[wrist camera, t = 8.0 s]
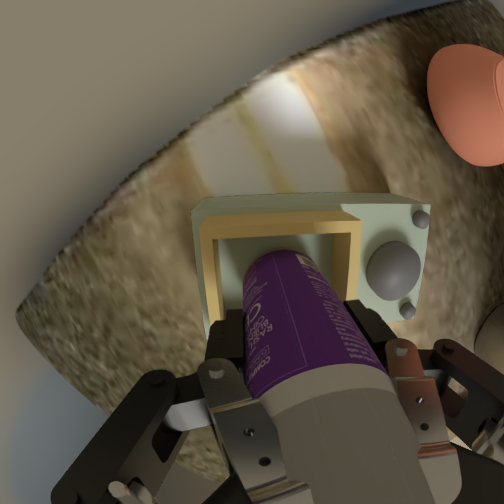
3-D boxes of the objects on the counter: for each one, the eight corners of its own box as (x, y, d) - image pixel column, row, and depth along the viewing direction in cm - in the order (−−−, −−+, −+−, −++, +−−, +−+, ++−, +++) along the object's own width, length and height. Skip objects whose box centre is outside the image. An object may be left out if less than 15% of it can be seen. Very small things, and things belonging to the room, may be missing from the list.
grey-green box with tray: (391, 193, 22) (456, 212, 14) (382, 287, 25) (432, 338, 17) (203, 198, 22) (179, 221, 13) (213, 300, 25) (202, 367, 16)
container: (237, 251, 16) (232, 570, 2) (318, 241, 16) (501, 481, 2) (247, 321, 18) (260, 579, 3) (320, 312, 18) (418, 540, 3)
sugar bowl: (391, 70, 19) (462, 37, 9) (465, 39, 17) (524, 20, 7) (448, 184, 22) (525, 203, 12) (508, 133, 20) (570, 138, 10)
